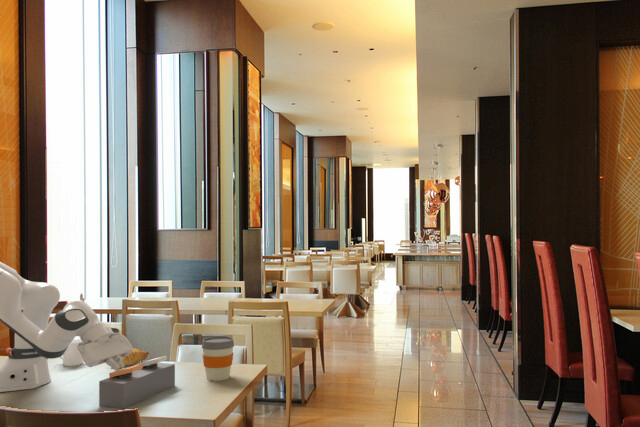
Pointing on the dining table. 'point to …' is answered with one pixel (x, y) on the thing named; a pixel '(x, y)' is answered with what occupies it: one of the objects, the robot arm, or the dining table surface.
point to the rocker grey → (153, 361)
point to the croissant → (134, 357)
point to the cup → (72, 354)
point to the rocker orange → (125, 370)
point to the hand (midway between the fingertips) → (120, 368)
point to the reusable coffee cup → (217, 357)
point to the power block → (136, 385)
